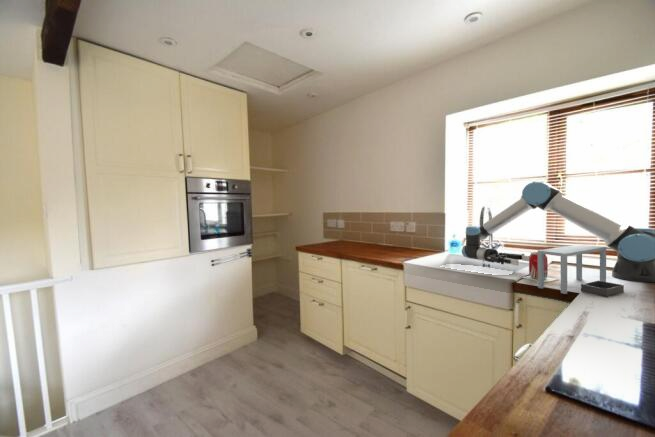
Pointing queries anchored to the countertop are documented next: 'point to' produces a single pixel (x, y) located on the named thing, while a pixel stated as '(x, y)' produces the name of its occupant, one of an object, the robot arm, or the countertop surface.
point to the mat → (544, 279)
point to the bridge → (565, 252)
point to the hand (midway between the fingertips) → (527, 261)
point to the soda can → (534, 265)
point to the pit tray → (602, 288)
